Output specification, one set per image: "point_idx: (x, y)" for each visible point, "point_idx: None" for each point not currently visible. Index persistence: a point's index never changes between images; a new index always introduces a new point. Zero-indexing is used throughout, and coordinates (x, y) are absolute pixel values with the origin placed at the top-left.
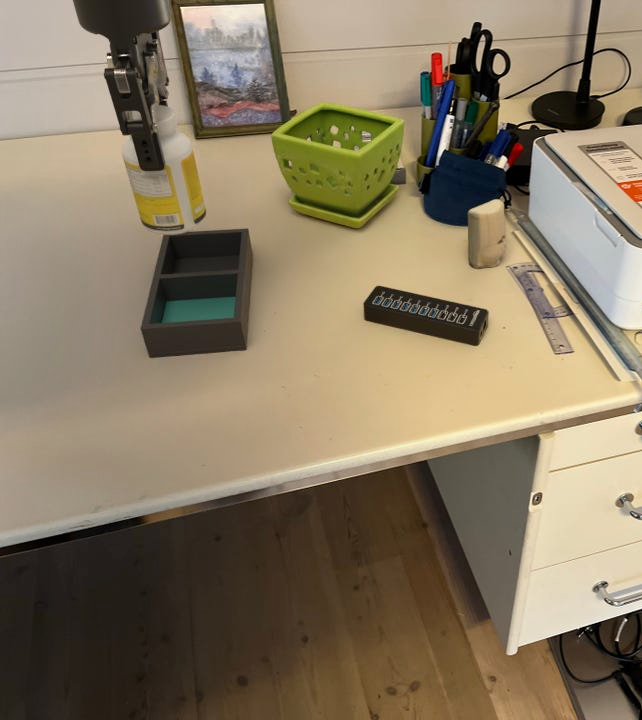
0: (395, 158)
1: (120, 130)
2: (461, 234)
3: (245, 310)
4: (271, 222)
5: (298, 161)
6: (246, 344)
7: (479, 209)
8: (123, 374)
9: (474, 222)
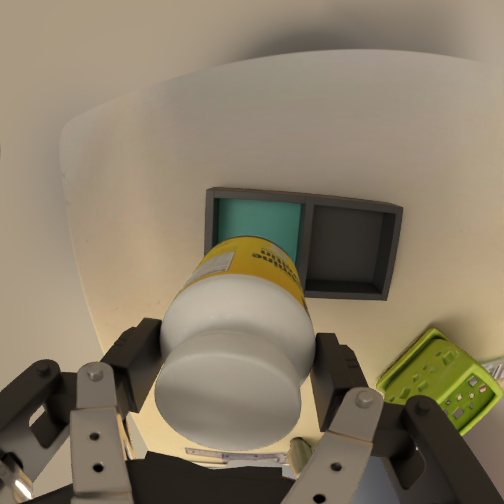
0: None
1: (38, 363)
2: None
3: None
4: (425, 303)
5: (438, 375)
6: None
7: None
8: (193, 165)
9: (297, 468)
